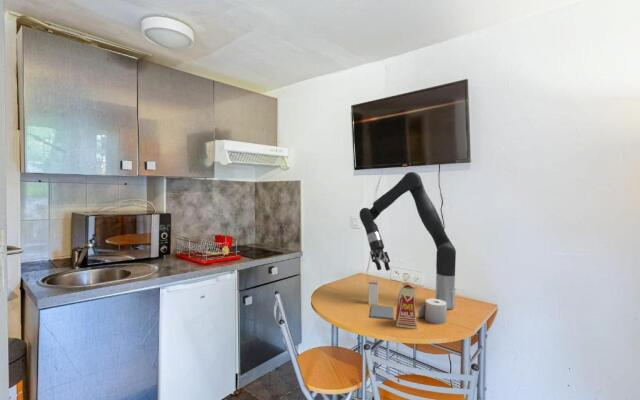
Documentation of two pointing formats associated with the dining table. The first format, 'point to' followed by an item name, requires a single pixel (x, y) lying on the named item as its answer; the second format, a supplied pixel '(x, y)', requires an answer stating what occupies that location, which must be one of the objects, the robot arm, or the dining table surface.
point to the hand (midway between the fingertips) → (384, 270)
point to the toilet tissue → (434, 311)
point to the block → (373, 292)
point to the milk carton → (406, 307)
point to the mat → (382, 312)
